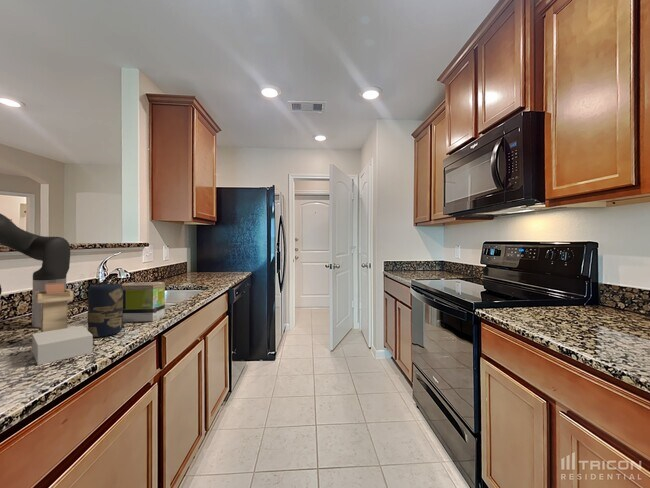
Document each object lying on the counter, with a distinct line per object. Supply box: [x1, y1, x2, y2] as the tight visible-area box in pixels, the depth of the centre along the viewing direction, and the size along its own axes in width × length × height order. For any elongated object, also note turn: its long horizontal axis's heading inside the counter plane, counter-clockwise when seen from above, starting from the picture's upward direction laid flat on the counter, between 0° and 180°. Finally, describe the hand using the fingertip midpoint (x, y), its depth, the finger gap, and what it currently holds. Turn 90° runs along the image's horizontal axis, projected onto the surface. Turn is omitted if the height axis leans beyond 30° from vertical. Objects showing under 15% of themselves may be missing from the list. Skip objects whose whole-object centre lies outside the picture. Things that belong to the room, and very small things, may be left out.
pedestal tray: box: [35, 288, 74, 332], centre depth 91 cm, size 8×8×16 cm
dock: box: [31, 325, 94, 366], centre depth 81 cm, size 14×11×5 cm
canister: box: [87, 281, 124, 338], centre depth 98 cm, size 10×10×18 cm
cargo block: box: [45, 283, 64, 294], centre depth 91 cm, size 4×4×4 cm
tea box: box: [121, 281, 166, 323], centre depth 117 cm, size 15×10×15 cm
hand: (1, 289), depth 82 cm, fingers open, 8 cm apart
